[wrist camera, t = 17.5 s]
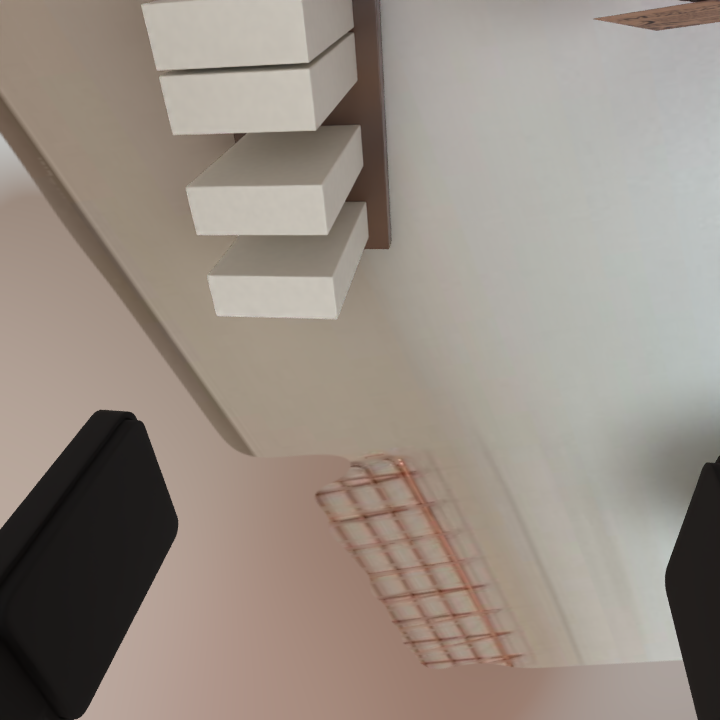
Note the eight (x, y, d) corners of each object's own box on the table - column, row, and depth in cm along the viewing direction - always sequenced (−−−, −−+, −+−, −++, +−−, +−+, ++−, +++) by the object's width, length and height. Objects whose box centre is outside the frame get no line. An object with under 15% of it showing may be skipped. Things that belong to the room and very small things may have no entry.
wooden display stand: (209, -39, 33) (103, -24, 24) (377, -54, 31) (331, -43, 22) (260, 241, 42) (197, 329, 33) (391, 241, 40) (363, 334, 31)
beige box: (252, 127, 36) (184, 187, 28) (360, 124, 35) (322, 185, 27) (259, 168, 37) (196, 236, 29) (363, 166, 36) (327, 235, 28)
